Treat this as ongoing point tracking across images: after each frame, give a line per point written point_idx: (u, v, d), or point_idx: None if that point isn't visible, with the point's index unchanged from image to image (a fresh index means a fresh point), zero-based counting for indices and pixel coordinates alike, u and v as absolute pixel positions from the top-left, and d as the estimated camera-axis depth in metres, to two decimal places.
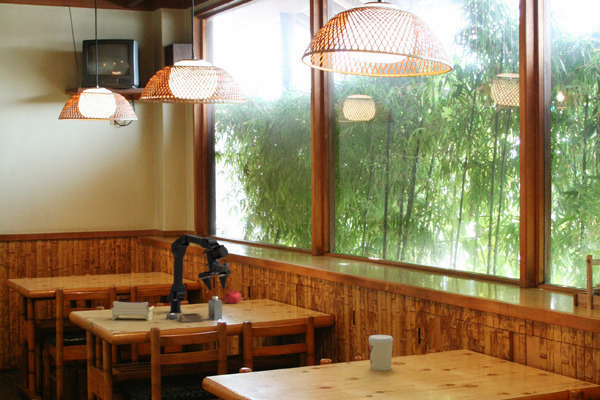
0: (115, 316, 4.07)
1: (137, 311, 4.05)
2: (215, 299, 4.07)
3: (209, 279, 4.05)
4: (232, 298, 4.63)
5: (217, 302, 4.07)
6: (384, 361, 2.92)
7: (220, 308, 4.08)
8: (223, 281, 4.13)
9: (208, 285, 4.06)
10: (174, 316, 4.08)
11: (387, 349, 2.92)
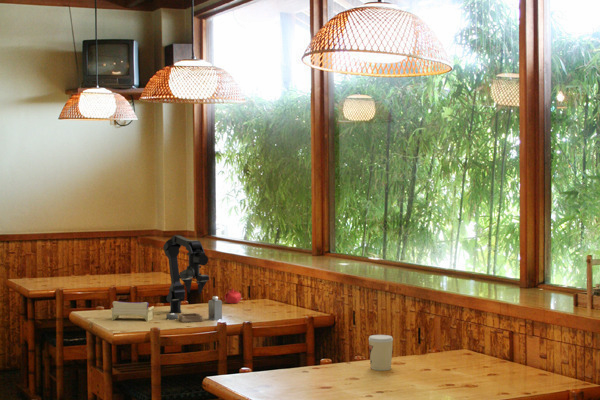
0: (115, 316, 4.06)
1: (137, 311, 4.04)
2: (215, 299, 4.07)
3: (184, 281, 4.18)
4: (232, 298, 4.63)
5: (217, 302, 4.07)
6: (384, 361, 2.92)
7: (220, 308, 4.08)
8: None
9: None
10: (174, 316, 4.08)
11: (387, 349, 2.92)
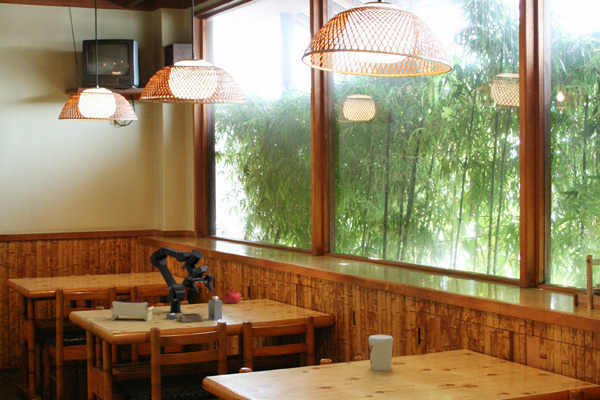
0: (114, 316, 4.06)
1: (136, 311, 4.04)
2: (215, 299, 4.07)
3: (193, 282, 4.12)
4: (232, 298, 4.63)
5: (217, 302, 4.07)
6: (384, 361, 2.92)
7: (220, 308, 4.08)
8: (208, 285, 4.20)
9: (194, 289, 4.12)
10: (174, 316, 4.08)
11: (387, 349, 2.92)
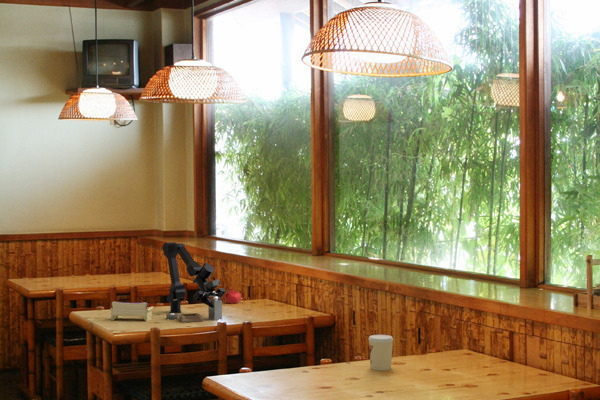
0: (114, 316, 4.05)
1: (136, 311, 4.03)
2: (215, 299, 4.07)
3: (207, 296, 4.07)
4: (232, 298, 4.63)
5: (217, 302, 4.07)
6: (384, 361, 2.92)
7: (220, 308, 4.08)
8: None
9: (208, 303, 4.07)
10: (174, 316, 4.08)
11: (387, 349, 2.92)
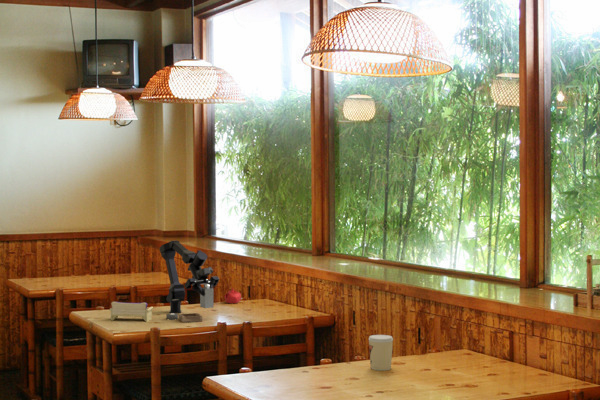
0: (114, 316, 4.05)
1: (135, 312, 4.03)
2: (206, 287, 4.05)
3: (198, 284, 4.05)
4: (232, 298, 4.63)
5: (208, 290, 4.05)
6: (384, 361, 2.92)
7: (211, 296, 4.06)
8: (210, 287, 4.10)
9: (200, 291, 4.05)
10: (174, 316, 4.08)
11: (387, 349, 2.92)
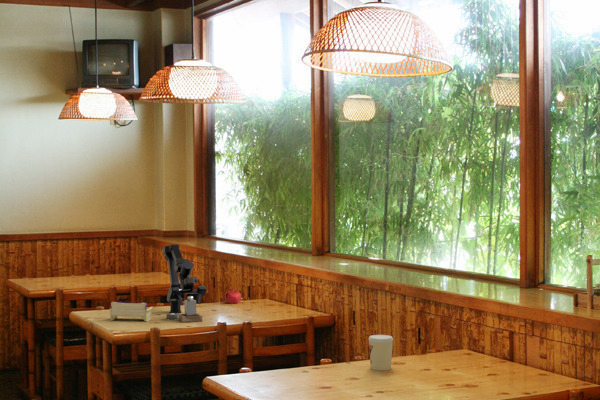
0: (113, 317, 4.05)
1: (135, 312, 4.02)
2: (189, 299, 4.03)
3: (178, 294, 4.04)
4: (232, 298, 4.63)
5: (190, 302, 4.02)
6: (384, 361, 2.92)
7: (194, 308, 4.03)
8: (198, 297, 4.08)
9: (179, 300, 4.03)
10: (174, 316, 4.08)
11: (387, 349, 2.92)
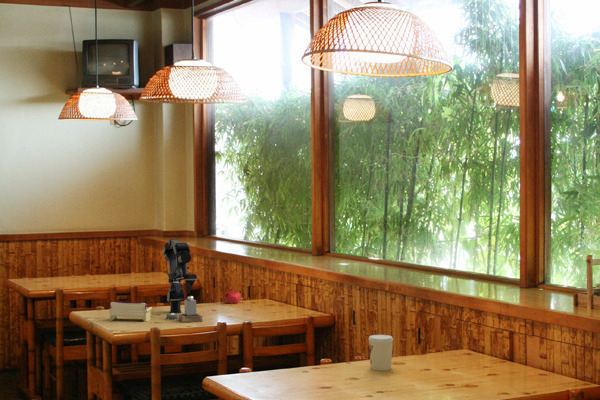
0: (113, 317, 4.04)
1: (134, 312, 4.02)
2: (189, 299, 4.03)
3: (173, 285, 4.18)
4: (232, 298, 4.63)
5: (190, 302, 4.02)
6: (384, 361, 2.92)
7: (194, 308, 4.03)
8: None
9: None
10: (174, 316, 4.08)
11: (387, 349, 2.92)
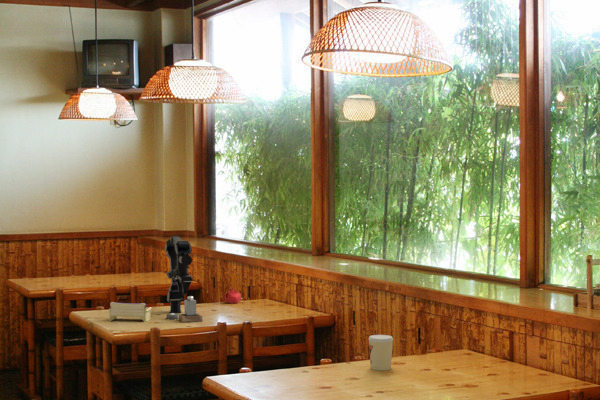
0: (112, 317, 4.04)
1: (134, 312, 4.01)
2: (189, 299, 4.03)
3: (176, 281, 4.20)
4: (232, 298, 4.63)
5: (190, 302, 4.02)
6: (384, 361, 2.92)
7: (194, 308, 4.03)
8: None
9: None
10: (174, 316, 4.08)
11: (387, 349, 2.92)
